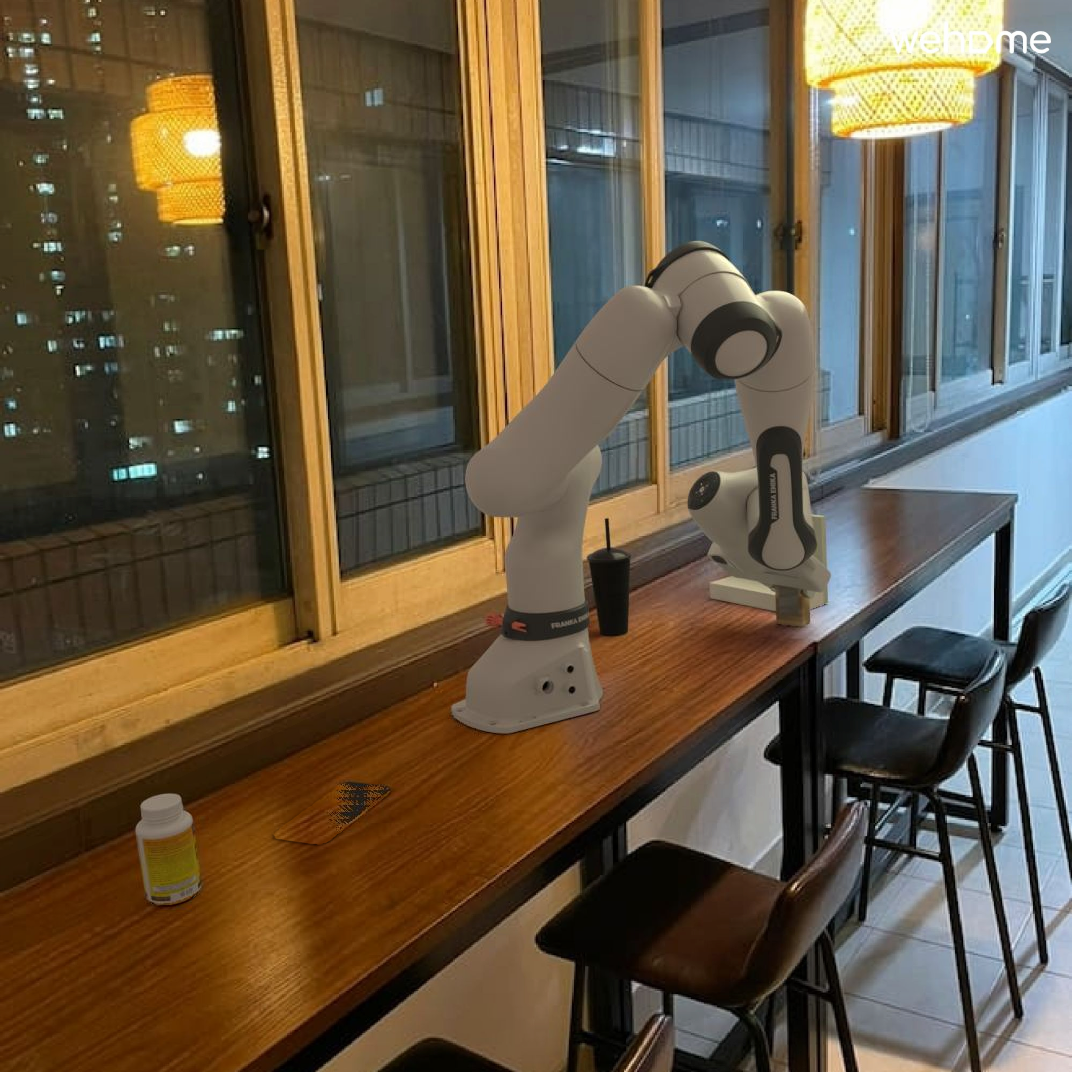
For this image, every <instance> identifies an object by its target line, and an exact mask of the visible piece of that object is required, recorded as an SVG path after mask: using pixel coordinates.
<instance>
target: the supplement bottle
mask: <svg viewBox="0 0 1072 1072" xmlns="http://www.w3.org/2000/svg"><path fill="white" fill-rule="evenodd" d="M140 812H141V814H140V815H141V820H140V821H138V823H136V826H135V838H136V843H137V850H138V856H139V862H140V869H141V875H142V881H143V887H144V892H145V898H146V900H147V899H148V900H149V901H151V902H154V903H159V904H160V903H161V904H163V903H172V902H176V901H178V900H183V899H184V898H187V897H189V896H192V895H193V894H195V893H196V892H197V891H199V890H200V891H201V889H202V887H203V886H202V885H203V880H202V873H201V868H200V859H199V853H198V847H197V841H196V834H195V832H196V831H195V825H194V820H193V816H192V814H190V813H189V812H187V811H186V810H184V805H183V802H182V797H181V796H180V794H177V793H162V794H158V795H153V796H151V797H148V798H147V799H145V800H143V801H142V802H141V804H140ZM201 886H202V887H201ZM200 888H201V889H200ZM200 891H199V892H200ZM148 900H147V901H148ZM149 901H148V902H149Z"/></svg>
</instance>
